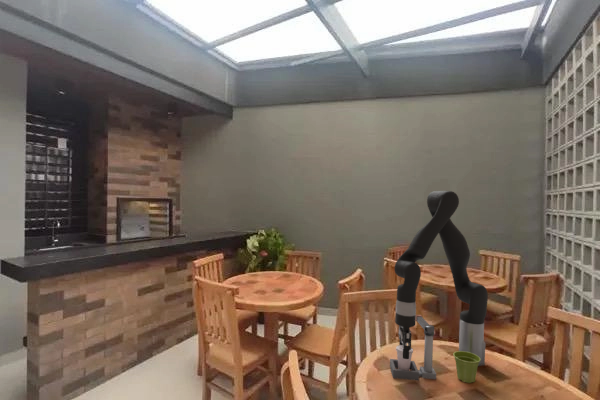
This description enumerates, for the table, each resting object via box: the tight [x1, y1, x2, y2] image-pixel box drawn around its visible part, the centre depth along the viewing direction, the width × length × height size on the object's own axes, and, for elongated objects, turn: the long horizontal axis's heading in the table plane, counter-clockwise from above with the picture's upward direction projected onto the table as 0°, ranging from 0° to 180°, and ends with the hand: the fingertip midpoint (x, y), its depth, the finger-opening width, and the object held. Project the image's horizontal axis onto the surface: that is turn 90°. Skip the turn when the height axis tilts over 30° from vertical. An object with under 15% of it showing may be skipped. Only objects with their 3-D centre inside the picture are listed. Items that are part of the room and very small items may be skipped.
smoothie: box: [395, 343, 414, 370], centre depth 135 cm, size 6×6×14 cm
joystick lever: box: [415, 314, 435, 337], centre depth 140 cm, size 16×4×3 cm, turn 178°
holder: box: [389, 334, 437, 381], centre depth 135 cm, size 16×9×16 cm, turn 82°
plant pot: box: [452, 350, 481, 384], centre depth 132 cm, size 9×9×9 cm
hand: (403, 353), depth 135 cm, fingers open, 8 cm apart
